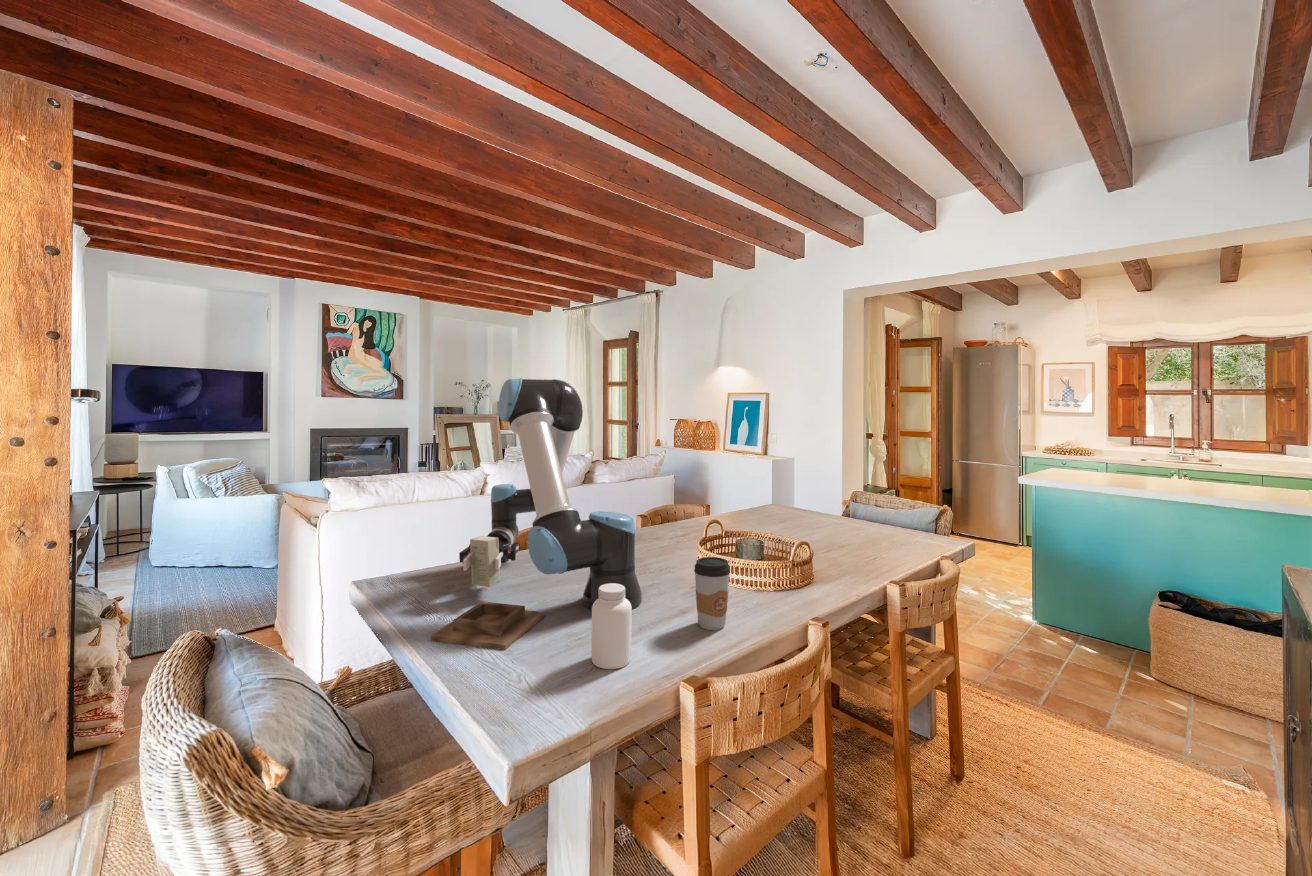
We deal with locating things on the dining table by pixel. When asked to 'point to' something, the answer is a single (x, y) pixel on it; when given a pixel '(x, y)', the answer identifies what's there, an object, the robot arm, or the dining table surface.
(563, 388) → the robot arm
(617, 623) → the pill bottle
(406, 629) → the dining table surface
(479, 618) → the socket holder
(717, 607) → the coffee cup
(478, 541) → the skincare box
